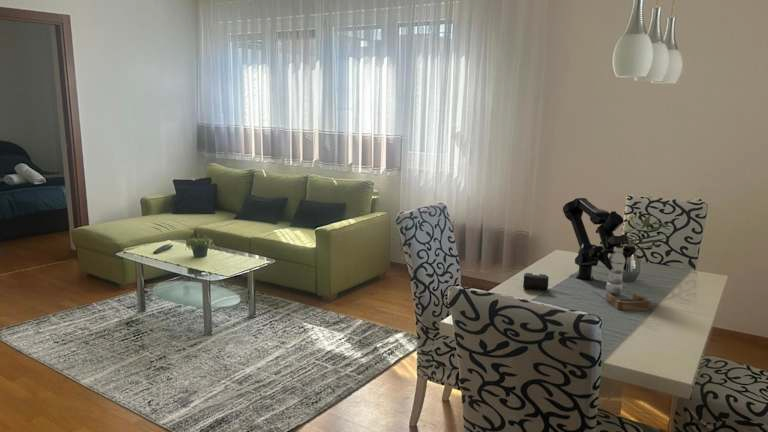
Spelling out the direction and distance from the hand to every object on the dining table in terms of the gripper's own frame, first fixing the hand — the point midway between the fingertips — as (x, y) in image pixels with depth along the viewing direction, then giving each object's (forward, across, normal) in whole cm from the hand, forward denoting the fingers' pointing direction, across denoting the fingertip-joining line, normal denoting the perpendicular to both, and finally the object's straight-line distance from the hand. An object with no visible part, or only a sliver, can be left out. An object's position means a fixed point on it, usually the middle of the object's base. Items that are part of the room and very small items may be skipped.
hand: (618, 269), depth 238 cm
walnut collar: (+15, 0, +1) cm, 15 cm away
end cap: (+1, -31, +16) cm, 35 cm away
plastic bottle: (+7, 0, +9) cm, 11 cm away
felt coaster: (+8, 0, +9) cm, 12 cm away
